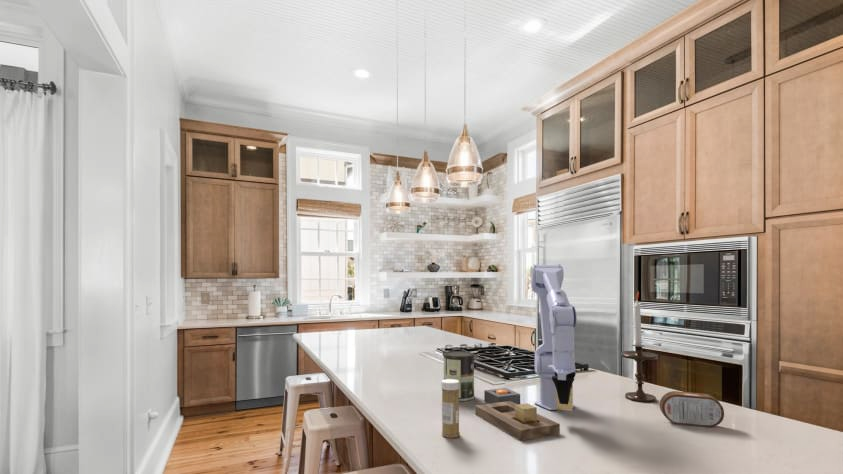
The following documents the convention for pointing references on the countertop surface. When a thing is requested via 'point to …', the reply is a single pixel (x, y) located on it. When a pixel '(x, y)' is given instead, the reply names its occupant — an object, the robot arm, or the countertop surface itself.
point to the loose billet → (565, 406)
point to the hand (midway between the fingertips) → (564, 401)
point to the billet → (525, 413)
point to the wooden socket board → (505, 420)
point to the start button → (501, 392)
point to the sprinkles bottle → (450, 408)
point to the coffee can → (460, 372)
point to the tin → (692, 409)
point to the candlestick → (639, 360)
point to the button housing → (501, 396)
